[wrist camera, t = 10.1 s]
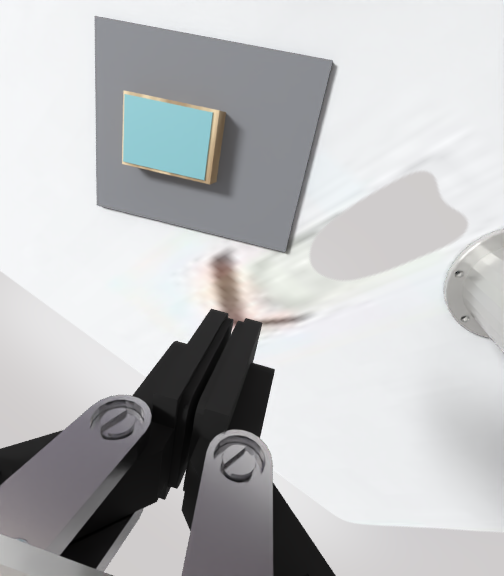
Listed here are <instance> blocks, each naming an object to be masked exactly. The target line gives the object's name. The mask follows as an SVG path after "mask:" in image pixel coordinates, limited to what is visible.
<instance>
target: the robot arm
mask: <svg viewBox="0 0 504 576" xmlns="http://www.w3.org/2000/svg"><path fill="white" fill-rule="evenodd" d="M457 271H459V272H458V273H456V272H457ZM444 298H445V303H446V305H447V307H448V310H449V311H450V313H451V314H452V316H453V317H454V318H455V320H456V321H457V322H458V323H459V324H460V325H461V326H463V327H464V328H466V329H467V330H469V331H471V332H473V333H475V334H477V335H481V336H484V337H488V338H491V339H492V340H493V341H494V342H495V343H496V344H497V346H498V347H499V348H500V349H501V350H502V352H503V353H504V229H501V230H497V231H494V232H492V233H489V234H487V235H485V236H483V237H481V238H479V239H478V240H476V241H475V242H473V243H471V244H470V245H469V246H468V247H467V248H465V249H464V250H463V251H462V252H461V253H460V254H459V255H458V257H457V258H456V259H455V260H454V262H453V263H452V265H451V267H450V269H449V270H448V272H447V276H446V279H445V282H444ZM462 316H463V317H462ZM232 326H233V319H230V318H228V313H225V312H221V311H218V310H214V309H211V310H210V311H209V313H208V314H207V316H206V317H205V319H204V320H203V322H202V323H201V325H200V326H199V327H198V329H197V330H196V332H195V333H194V335H193V336H192V338H191V339H190V341H189V342H188V344H185V343H181V342H178V341H175V342H173V344H172V345H171V346H170V347H169V349H168V350H167V351H166V352H165V354H164V355H163V356H162V358H161V359H160V360H159V362H158V363H157V364H156V366H155V367H154V368H153V370H152V371H151V372H150V373H149V375H148V376H147V377H146V379H145V380H144V381H143V383H142V384H141V385H140V387H139V388H138V389H137V391H136V392H135V393H134V394H133V396H131V395H116V396H110V397H107V398H105V399H102V400H100V401H98V402H97V403H95V404H94V405H92V406H91V407H90V408H89V409H88V410H86V411H85V412H84V413H83V414H82V415H81V416H80V417H78V418H77V419H76V420H75V421H74V422H73V423H71V424H70V425H69V426H68V427H67V428H66V429H65V430H63V431H59V432H56V433H52V434H49V435H46V436H42V437H39V438H35V439H32V440H29V441H25V442H22V443H19V444H15V445H12V446H8V447H5V448H2V449H0V576H113V575H109V574H107V573H104V570H105V569H106V568H107V566H108V565H109V563H110V562H111V560H112V558H113V557H114V556H115V554H116V553H117V551H118V550H119V548H120V546H121V545H122V543H123V542H124V540H125V539H126V538H127V536H128V535H129V533H130V531H131V530H132V528H133V527H134V525H135V524H136V522H137V521H138V519H139V518H140V516H141V513H142V511H143V508H144V507H146V506H148V505H151V504H153V503H155V502H157V500H158V498H161V499H164V500H165V499H166V496H167V494H168V492H169V490H170V487H174V488H178V486H179V485H180V482H181V480H182V478H183V475H184V473H185V471H186V474H185V481H184V487H183V491H185V493H184V499H183V505H182V512H183V514H184V517H185V519H186V521H187V524H188V526H189V529H190V531H191V532H190V537H189V542H188V547H187V552H186V557H185V562H184V567H183V571H182V576H335V574H334V573H333V571H332V570H331V568H330V567H329V565H328V564H327V562H326V561H325V559H324V558H323V556H322V555H321V553H320V552H319V550H318V549H317V547H316V546H315V544H314V543H313V542H312V540H311V538H310V537H309V535H308V534H307V533H306V531H305V529H304V528H303V527H302V525H301V523H300V522H299V520H298V519H297V518H296V516H295V515H294V513H293V512H292V510H291V509H290V507H289V506H288V504H287V503H286V501H285V500H284V498H283V497H282V495H281V494H280V492H279V491H278V489H277V488H276V486H275V485H274V483H273V463H272V457H271V453H270V451H269V449H268V447H267V445H266V444H265V443H264V442H263V441H262V440H261V439H260V435H261V430H262V426H263V421H264V417H265V412H266V408H267V403H268V399H269V394H270V390H271V385H272V380H273V376H274V371H275V369H272V368H269V367H265V366H262V365H258V364H255V363H253V360H254V356H255V351H256V347H257V343H258V339H259V335H260V331H261V326H262V323H261V322H258V321H254V320H250V319H247V318H246V319H245V321H244V322H241V321H238V322H237V324H236V326H235V328H234V330H233V332H232V334H231V331H232Z"/></svg>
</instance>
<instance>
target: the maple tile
mask: <svg viewBox="0 0 504 576" xmlns="http://www.w3.org/2000/svg"><path fill="white" fill-rule="evenodd" d="M225 117H226V112H223V111H220V110H215V109H210V108H206V107H201V106H196V105H191V104H187V103H182V102H177V101H172V100H168V99H163V98H158V97H153V96H149V95H144V94H139V93H134V92H129V91H125V90H124V91H123V140H122V164H125V165H129V166H133V167H137V168H142V169H146V170H150V171H154V172H159V173H163V174H167V175H172V176H176V177H180V178H184V179H189V180H193V181H197V182H201V183H206V184H212V183H215V182H216V181H217V174H218V167H219V160H220V153H221V146H222V138H223V131H224V124H225Z"/></svg>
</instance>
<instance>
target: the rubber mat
mask: <svg viewBox="0 0 504 576" xmlns="http://www.w3.org/2000/svg"><path fill="white" fill-rule="evenodd" d="M332 63H333V60H328V59H322V58H317V57H311V56H306V55H301V54H295V53H290V52H285V51H279V50H274V49H269V48H263V47H258V46H253V45H247V44H242V43H237V42H231V41H226V40H221V39H215V38H210V37H205V36H199V35H194V34H189V33H183V32H178V31H173V30H167V29H162V28H157V27H151V26H146V25H141V24H135V23H130V22H125V21H119V20H114V19H109V18H103V17H98V16H95V89H96V178H97V205H98V206H102V207H106V208H110V209H114V210H118V211H122V212H126V213H130V214H134V215H138V216H142V217H146V218H150V219H154V220H158V221H162V222H166V223H170V224H174V225H178V226H182V227H186V228H190V229H194V230H198V231H202V232H206V233H210V234H214V235H218V236H222V237H226V238H230V239H234V240H238V241H242V242H246V243H250V244H254V245H258V246H262V247H266V248H270V249H274V250H278V251H282V252H285V251H286V247H287V243H288V239H289V235H290V231H291V227H292V223H293V219H294V215H295V211H296V207H297V203H298V199H299V195H300V191H301V187H302V183H303V179H304V175H305V171H306V167H307V163H308V159H309V155H310V151H311V147H312V143H313V139H314V135H315V131H316V127H317V123H318V119H319V115H320V111H321V107H322V103H323V99H324V95H325V91H326V87H327V83H328V79H329V75H330V71H331V67H332ZM124 90H125V91H129V92H134V93H139V94H144V95H149V96H153V97H158V98H163V99H168V100H172V101H177V102H182V103H187V104H191V105H196V106H201V107H206V108H210V109H215V110H220V111H223V112H226V117H225V124H224V131H223V138H222V146H221V153H220V160H219V167H218V174H217V181H216V182H215V183H212V184H206V183H201V182H197V181H193V180H189V179H184V178H180V177H176V176H172V175H167V174H163V173H159V172H154V171H150V170H146V169H142V168H137V167H133V166H129V165H125V164H122V140H123V91H124Z"/></svg>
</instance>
